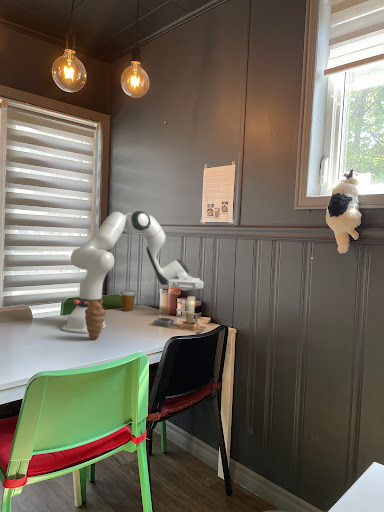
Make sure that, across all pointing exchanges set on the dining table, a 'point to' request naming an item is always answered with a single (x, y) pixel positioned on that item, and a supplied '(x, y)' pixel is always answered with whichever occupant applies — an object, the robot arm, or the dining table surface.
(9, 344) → the dining table surface
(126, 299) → the disposable coffee cup
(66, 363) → the dining table surface
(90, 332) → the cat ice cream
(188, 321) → the peg
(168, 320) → the rail board
